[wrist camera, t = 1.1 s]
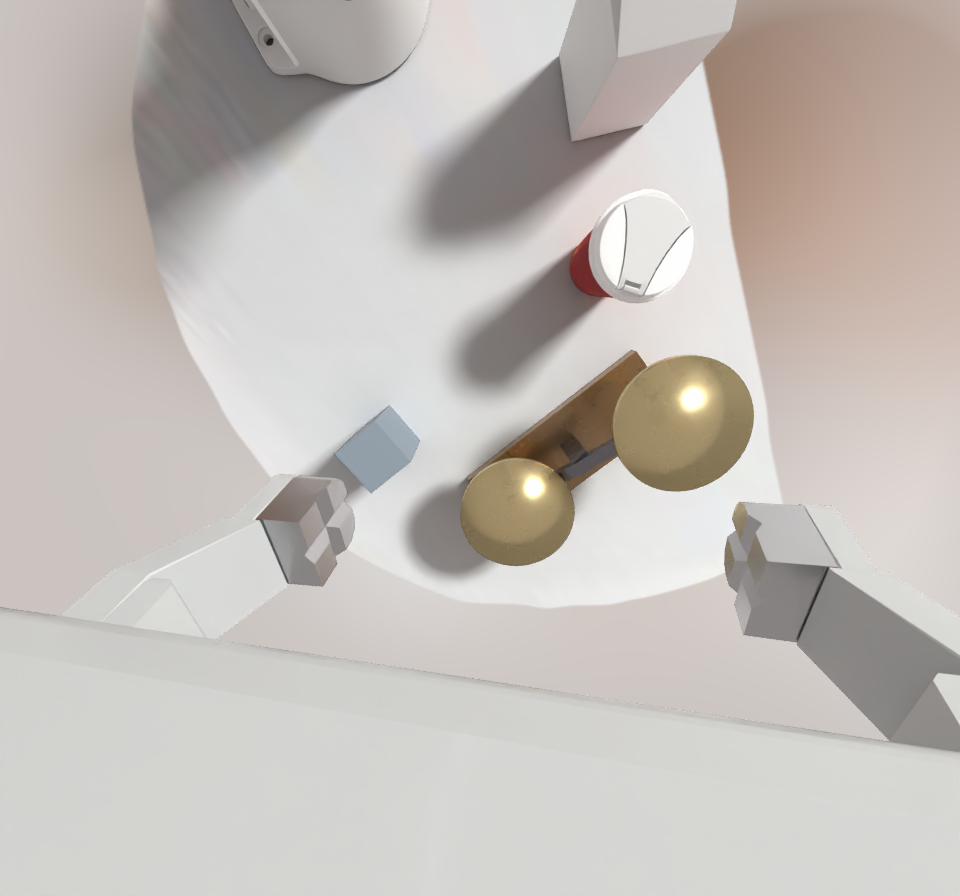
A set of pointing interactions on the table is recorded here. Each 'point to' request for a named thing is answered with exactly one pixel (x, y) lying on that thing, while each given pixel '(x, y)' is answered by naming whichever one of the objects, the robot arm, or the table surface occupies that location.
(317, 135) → the table surface
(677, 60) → the milk carton
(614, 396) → the balance
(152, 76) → the table surface
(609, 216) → the paper cup
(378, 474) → the block
